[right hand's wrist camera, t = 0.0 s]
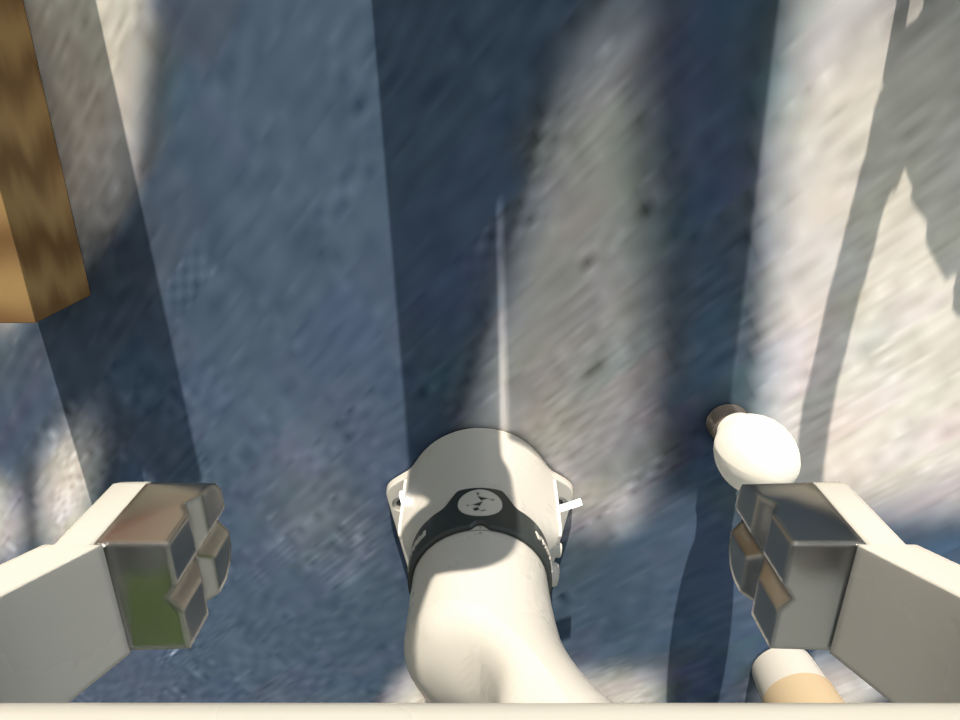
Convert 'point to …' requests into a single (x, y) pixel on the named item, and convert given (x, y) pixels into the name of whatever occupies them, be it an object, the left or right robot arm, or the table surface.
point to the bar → (31, 189)
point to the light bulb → (752, 448)
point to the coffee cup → (791, 678)
